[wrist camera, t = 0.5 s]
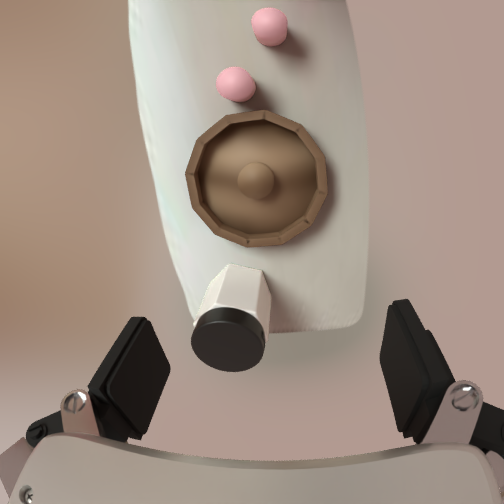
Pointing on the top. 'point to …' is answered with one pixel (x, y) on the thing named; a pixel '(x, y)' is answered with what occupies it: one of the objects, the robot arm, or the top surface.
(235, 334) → the jar
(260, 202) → the tray
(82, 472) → the robot arm
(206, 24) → the top surface
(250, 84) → the bead
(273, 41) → the bead
